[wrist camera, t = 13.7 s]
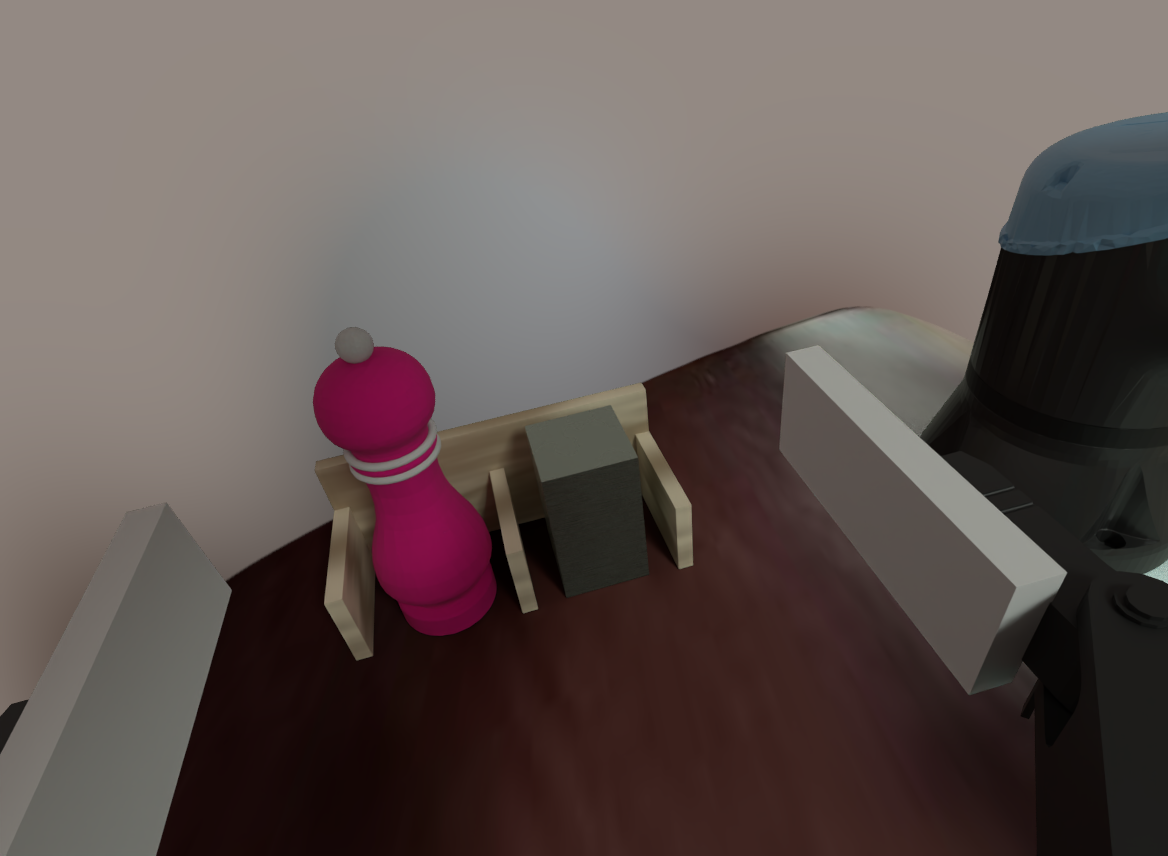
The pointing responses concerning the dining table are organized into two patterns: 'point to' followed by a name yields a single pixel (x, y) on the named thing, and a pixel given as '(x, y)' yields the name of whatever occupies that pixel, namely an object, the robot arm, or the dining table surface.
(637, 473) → the tea tin
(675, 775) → the dining table surface
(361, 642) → the spice rack
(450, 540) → the pepper mill
